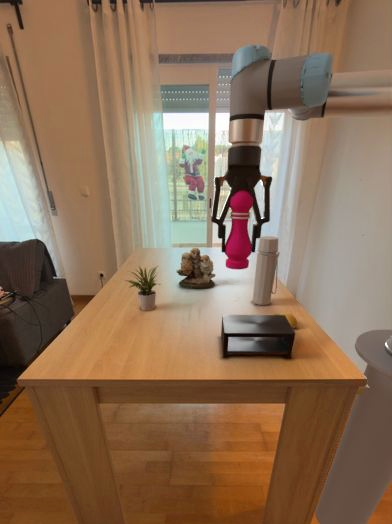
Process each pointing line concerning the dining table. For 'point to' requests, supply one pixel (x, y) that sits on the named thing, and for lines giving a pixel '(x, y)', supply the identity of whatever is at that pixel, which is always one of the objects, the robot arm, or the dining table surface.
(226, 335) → the rack
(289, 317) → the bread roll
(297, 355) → the dining table surface
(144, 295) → the house plant
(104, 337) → the dining table surface
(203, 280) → the owl figurine
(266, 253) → the water bottle
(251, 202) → the pepper mill
